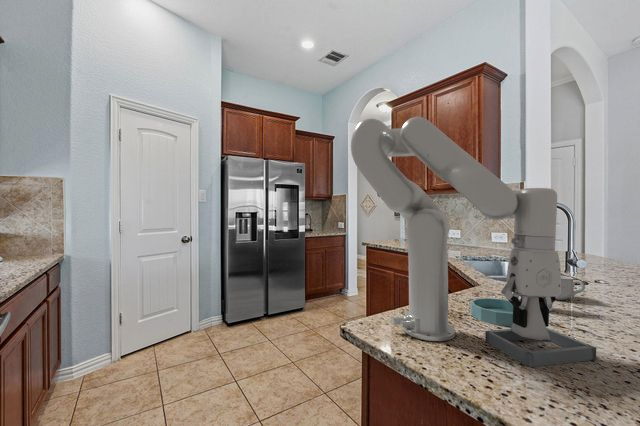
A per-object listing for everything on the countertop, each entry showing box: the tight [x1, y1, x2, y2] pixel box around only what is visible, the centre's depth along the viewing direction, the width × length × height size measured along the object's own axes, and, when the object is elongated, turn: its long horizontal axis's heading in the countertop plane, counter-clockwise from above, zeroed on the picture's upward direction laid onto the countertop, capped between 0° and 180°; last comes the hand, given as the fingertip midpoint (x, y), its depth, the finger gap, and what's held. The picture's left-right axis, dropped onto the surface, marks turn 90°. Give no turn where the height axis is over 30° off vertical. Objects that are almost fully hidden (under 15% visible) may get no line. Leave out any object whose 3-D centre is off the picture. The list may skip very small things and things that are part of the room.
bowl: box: [469, 297, 513, 327], centre depth 86 cm, size 15×15×4 cm
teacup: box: [556, 275, 586, 301], centre depth 104 cm, size 14×11×8 cm
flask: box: [510, 297, 550, 341], centre depth 66 cm, size 7×7×10 cm
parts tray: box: [484, 327, 597, 368], centre depth 65 cm, size 16×12×2 cm
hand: (530, 324), depth 66 cm, fingers closed on flask, 4 cm apart
